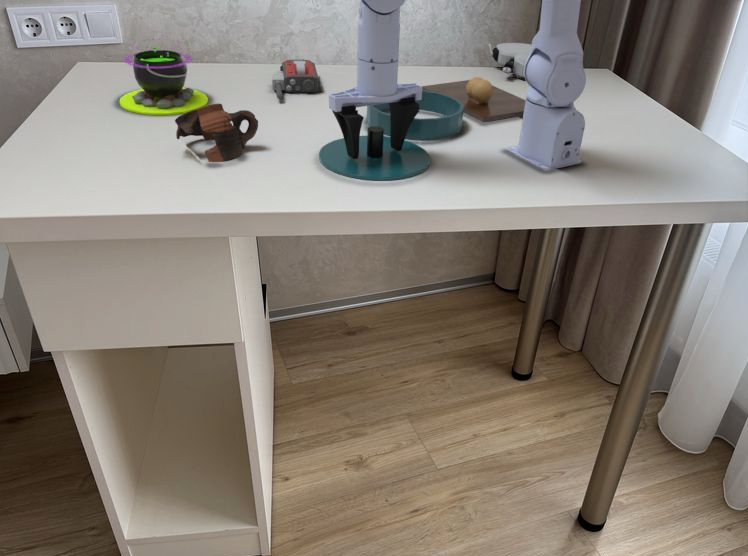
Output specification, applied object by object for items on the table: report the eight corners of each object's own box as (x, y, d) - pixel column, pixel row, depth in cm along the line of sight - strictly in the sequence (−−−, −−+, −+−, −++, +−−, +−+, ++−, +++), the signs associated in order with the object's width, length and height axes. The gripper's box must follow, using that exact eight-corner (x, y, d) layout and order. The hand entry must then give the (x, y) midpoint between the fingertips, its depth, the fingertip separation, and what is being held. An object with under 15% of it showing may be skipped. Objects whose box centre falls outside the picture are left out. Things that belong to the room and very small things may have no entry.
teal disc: (451, 172, 104) (454, 139, 101) (353, 192, 96) (354, 157, 93) (392, 136, 115) (393, 105, 112) (300, 151, 107) (298, 118, 104)
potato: (496, 104, 128) (499, 81, 126) (478, 106, 127) (481, 84, 124) (477, 95, 132) (480, 73, 130) (460, 97, 130) (463, 75, 128)
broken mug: (192, 173, 100) (167, 116, 97) (193, 177, 108) (170, 125, 106) (270, 144, 102) (248, 88, 100) (265, 151, 111) (244, 99, 109)
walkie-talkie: (271, 74, 140) (273, 105, 124) (270, 50, 137) (272, 80, 122) (315, 74, 142) (323, 105, 126) (314, 51, 139) (322, 80, 123)
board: (542, 114, 129) (543, 107, 128) (483, 124, 122) (484, 117, 122) (476, 84, 142) (477, 78, 141) (420, 92, 136) (420, 86, 135)
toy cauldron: (187, 119, 116) (179, 49, 110) (103, 109, 118) (89, 40, 111) (220, 93, 128) (214, 29, 122) (143, 85, 130) (133, 21, 123)
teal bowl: (479, 135, 118) (482, 111, 116) (399, 149, 110) (401, 124, 108) (426, 106, 129) (428, 85, 126) (350, 118, 121) (350, 95, 119)
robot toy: (555, 86, 147) (538, 62, 158) (560, 64, 144) (542, 41, 155) (499, 85, 146) (485, 60, 157) (502, 63, 143) (488, 39, 154)
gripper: (406, 46, 103) (400, 137, 111) (318, 55, 96) (319, 151, 104) (433, 58, 98) (425, 152, 106) (342, 68, 91) (342, 167, 99)
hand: (374, 152), depth 105 cm, fingers open, 7 cm apart
